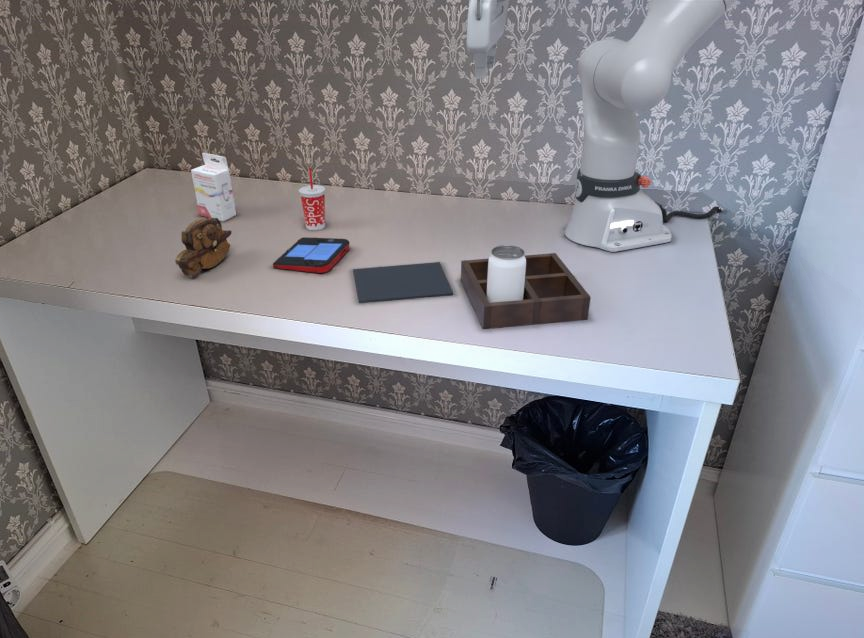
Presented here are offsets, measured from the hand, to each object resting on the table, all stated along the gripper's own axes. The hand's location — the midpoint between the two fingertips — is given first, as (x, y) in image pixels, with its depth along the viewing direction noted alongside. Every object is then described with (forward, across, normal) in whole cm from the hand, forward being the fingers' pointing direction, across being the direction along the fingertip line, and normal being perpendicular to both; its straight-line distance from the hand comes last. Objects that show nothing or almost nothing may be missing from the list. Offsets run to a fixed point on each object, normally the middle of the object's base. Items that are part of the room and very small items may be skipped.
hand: (484, 72), depth 117 cm
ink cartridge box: (+38, +18, +67) cm, 79 cm away
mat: (+38, -9, +14) cm, 41 cm away
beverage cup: (+38, +16, +41) cm, 58 cm away
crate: (+38, -11, -10) cm, 40 cm away
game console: (+38, -1, +35) cm, 51 cm away
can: (+38, -17, -8) cm, 42 cm away
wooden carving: (+38, -9, +55) cm, 68 cm away
